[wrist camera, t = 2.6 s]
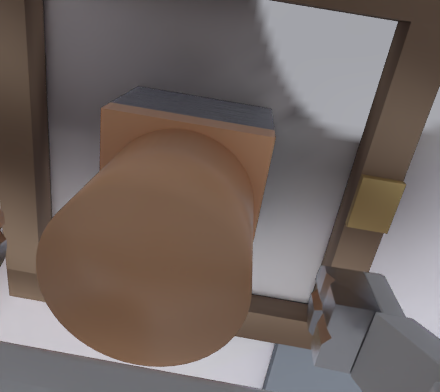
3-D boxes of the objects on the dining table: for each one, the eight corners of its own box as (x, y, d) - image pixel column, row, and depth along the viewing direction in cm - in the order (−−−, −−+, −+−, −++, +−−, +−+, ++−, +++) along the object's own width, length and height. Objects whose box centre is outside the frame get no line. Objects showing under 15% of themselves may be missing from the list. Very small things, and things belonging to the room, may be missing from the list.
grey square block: (138, 86, 14) (110, 102, 12) (271, 108, 14) (274, 130, 12) (131, 205, 17) (106, 242, 14) (247, 225, 16) (245, 267, 14)
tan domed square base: (110, 102, 12) (18, 155, 7) (274, 130, 12) (285, 202, 7) (105, 258, 14) (34, 372, 10) (241, 282, 14) (234, 409, 10)
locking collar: (-7, -99, 12) (-40, -114, 11) (462, -24, 12) (487, -28, 11) (23, 279, 19) (5, 299, 17) (332, 334, 19) (338, 359, 17)
